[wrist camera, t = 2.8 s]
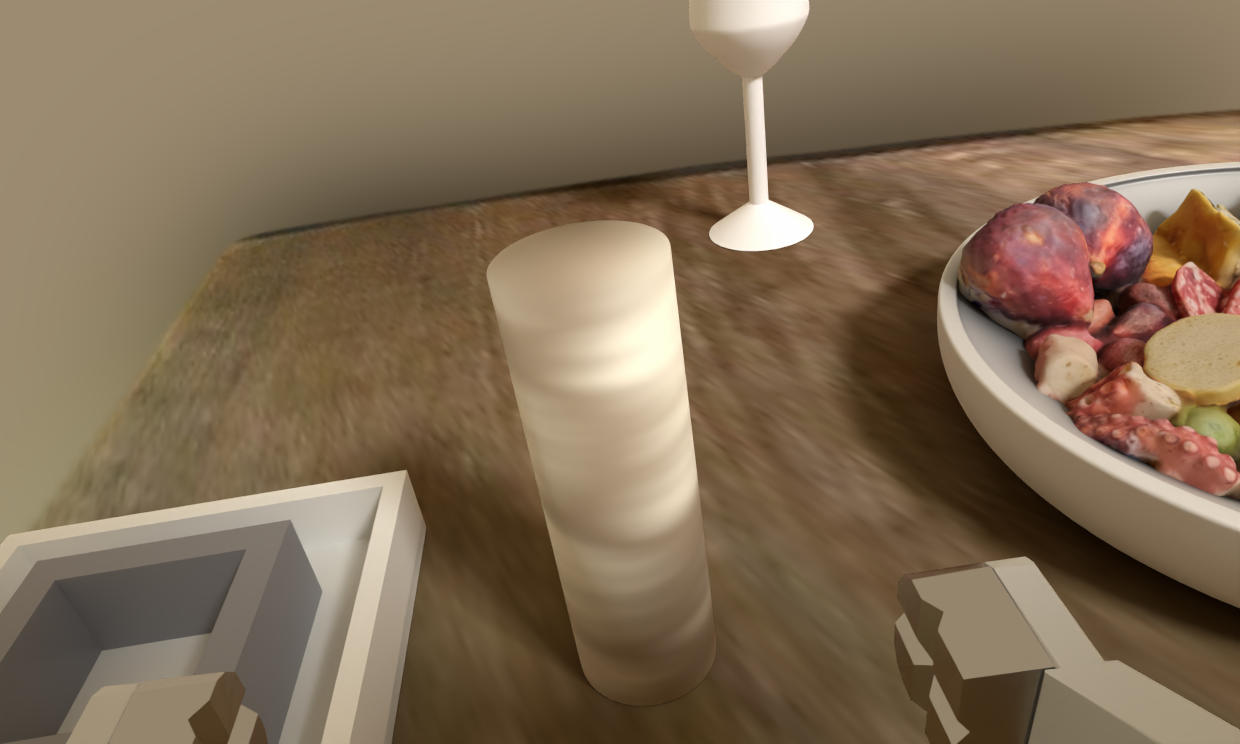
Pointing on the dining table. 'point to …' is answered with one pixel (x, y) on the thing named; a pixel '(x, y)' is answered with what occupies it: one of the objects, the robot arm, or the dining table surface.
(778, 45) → the champagne flute
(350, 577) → the tray
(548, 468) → the peg
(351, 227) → the dining table surface
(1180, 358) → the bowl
